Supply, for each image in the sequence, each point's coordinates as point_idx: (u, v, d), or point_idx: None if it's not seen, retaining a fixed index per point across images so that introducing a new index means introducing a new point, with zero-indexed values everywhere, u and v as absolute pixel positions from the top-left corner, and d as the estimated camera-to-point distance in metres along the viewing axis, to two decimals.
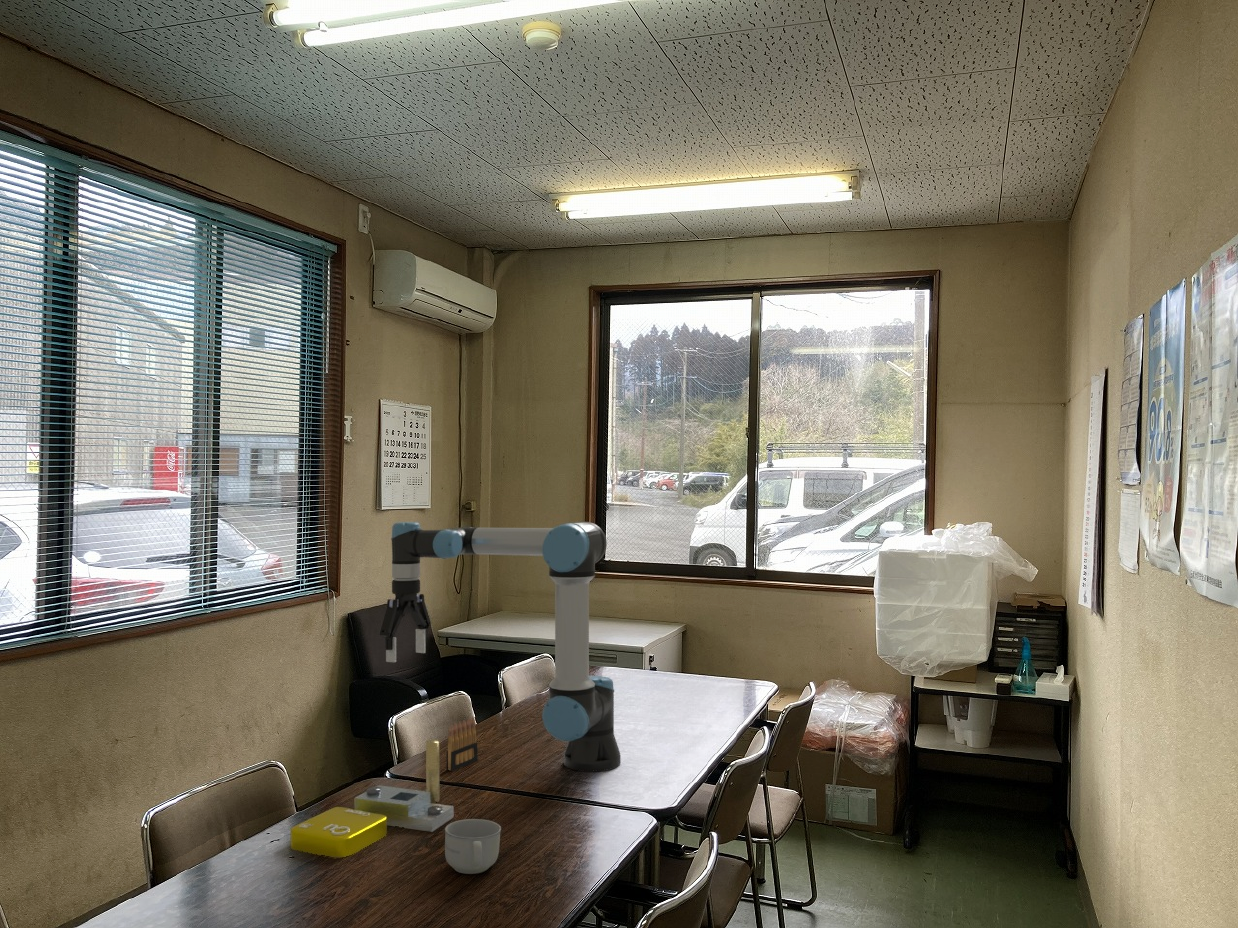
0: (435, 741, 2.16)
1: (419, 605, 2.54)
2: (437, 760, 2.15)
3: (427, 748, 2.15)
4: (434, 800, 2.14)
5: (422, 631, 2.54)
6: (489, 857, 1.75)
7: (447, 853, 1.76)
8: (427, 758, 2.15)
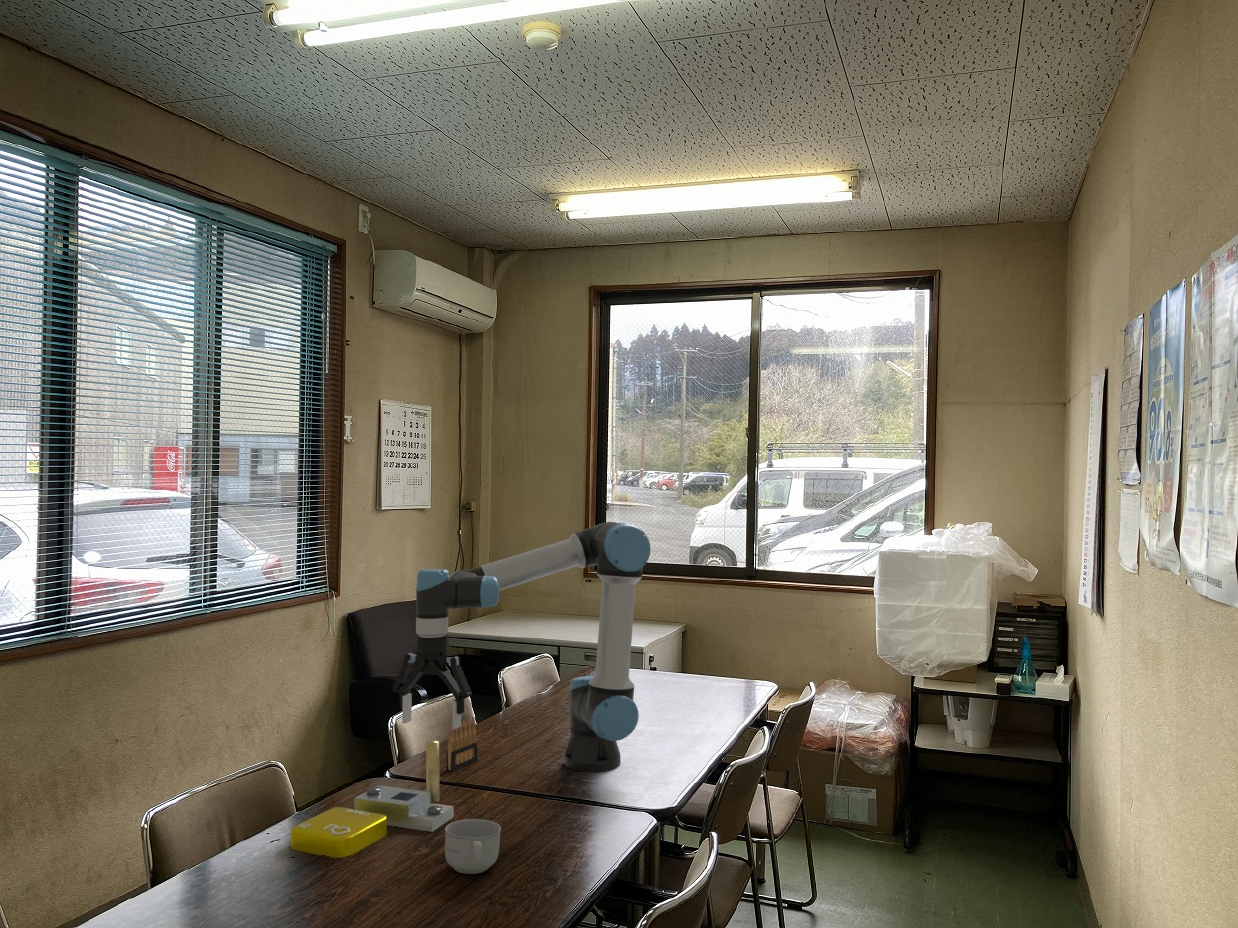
0: (435, 741, 2.16)
1: None
2: (437, 760, 2.15)
3: (427, 748, 2.15)
4: (434, 800, 2.14)
5: None
6: (490, 857, 1.75)
7: (447, 853, 1.76)
8: (427, 758, 2.15)
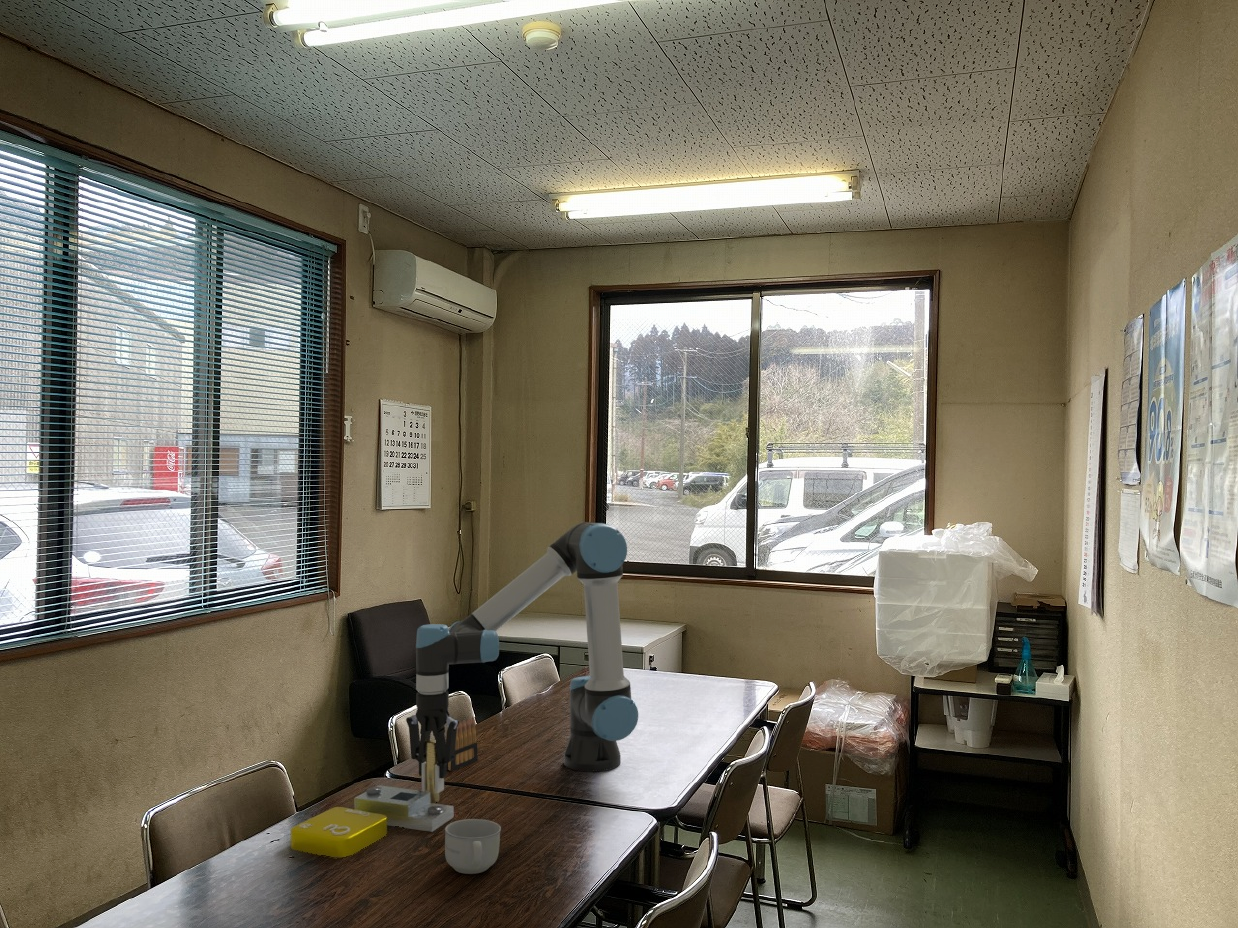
0: None
1: None
2: (437, 760, 2.15)
3: (427, 748, 2.15)
4: (434, 800, 2.14)
5: None
6: (489, 857, 1.75)
7: (447, 853, 1.76)
8: (427, 758, 2.15)
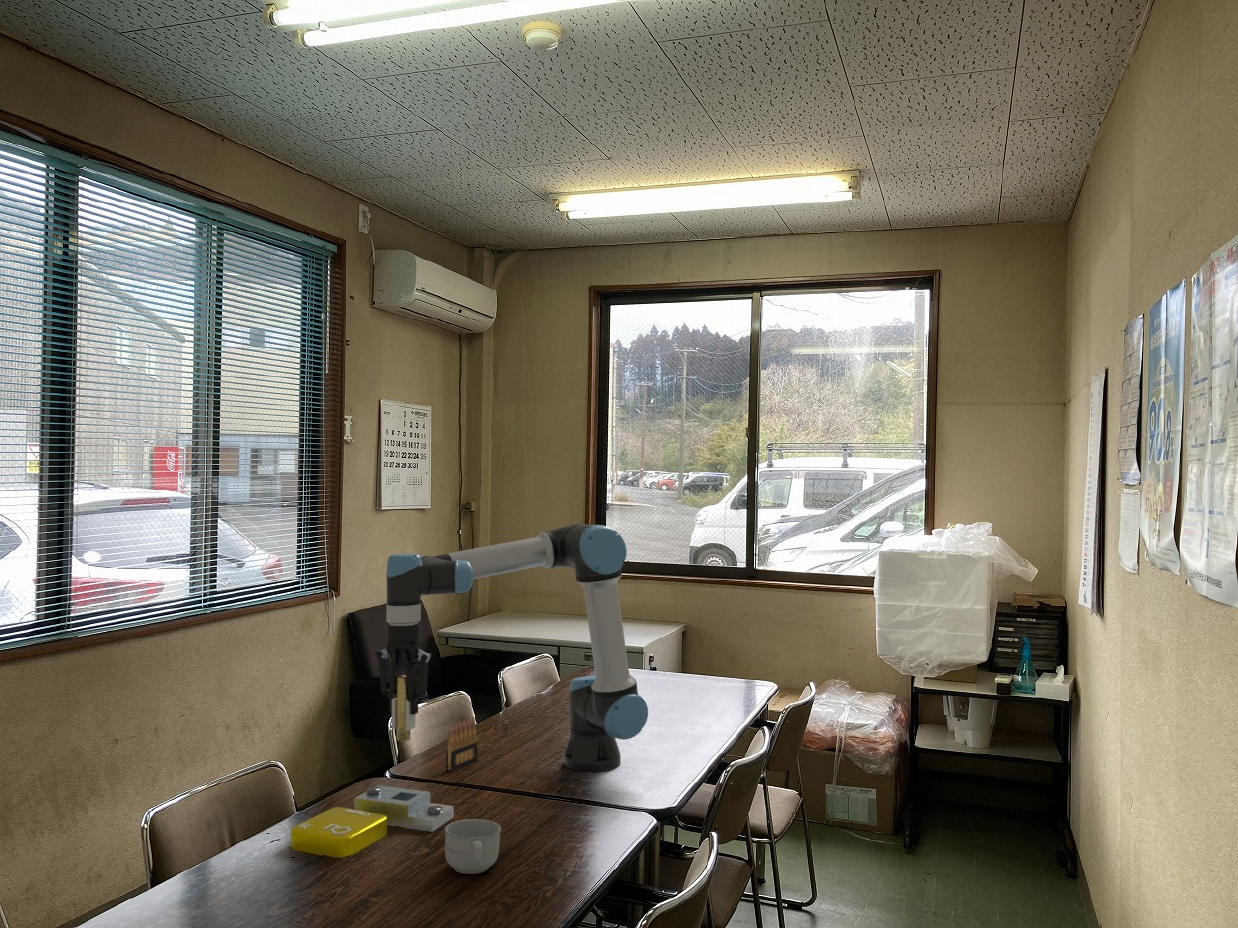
0: None
1: None
2: (408, 696, 2.04)
3: (398, 683, 2.04)
4: (405, 737, 2.03)
5: None
6: (489, 857, 1.75)
7: (447, 853, 1.76)
8: (398, 693, 2.04)
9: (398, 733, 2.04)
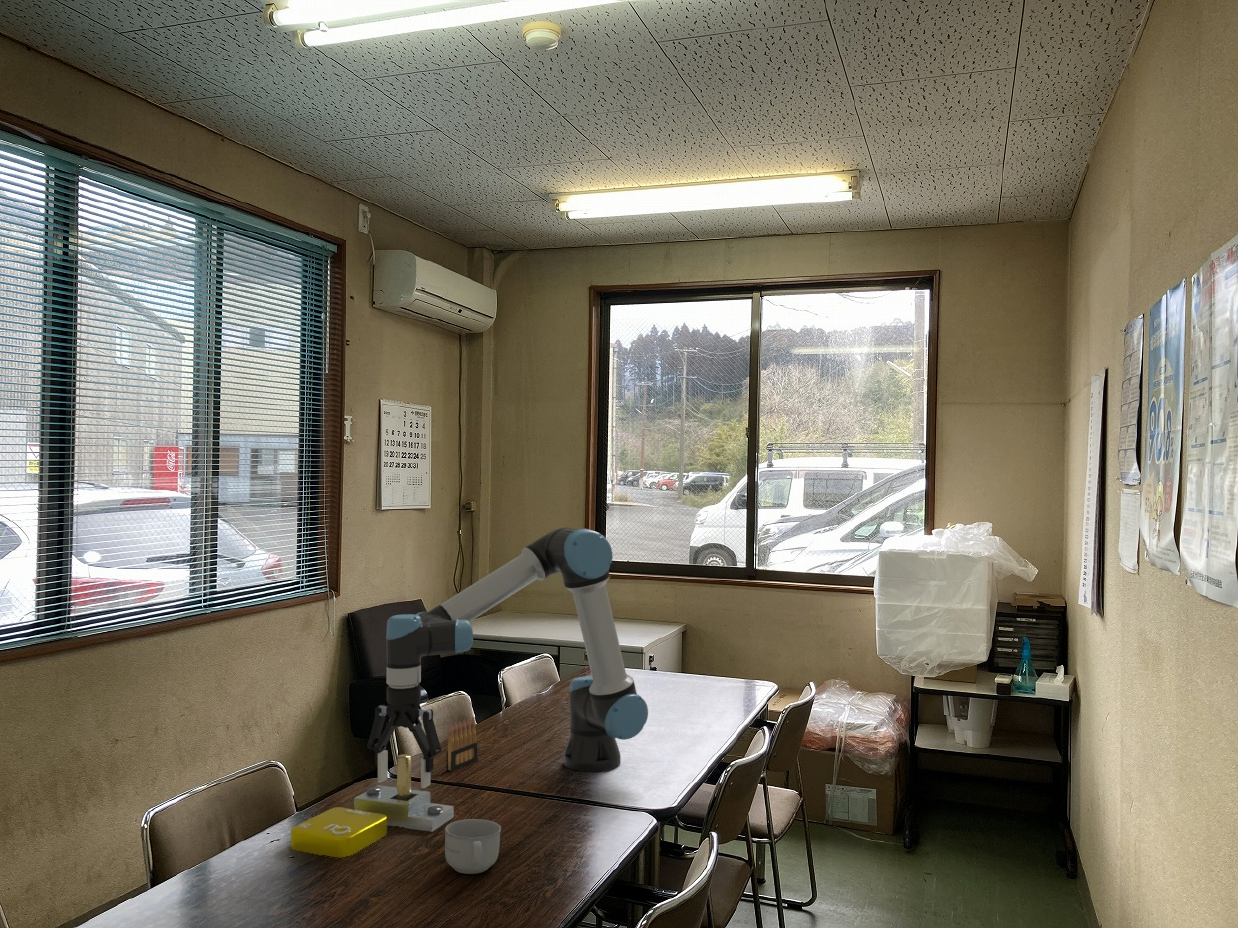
0: (407, 756, 2.05)
1: None
2: (409, 776, 2.04)
3: (398, 763, 2.04)
4: None
5: None
6: (489, 857, 1.75)
7: (447, 853, 1.76)
8: (398, 774, 2.04)
9: None
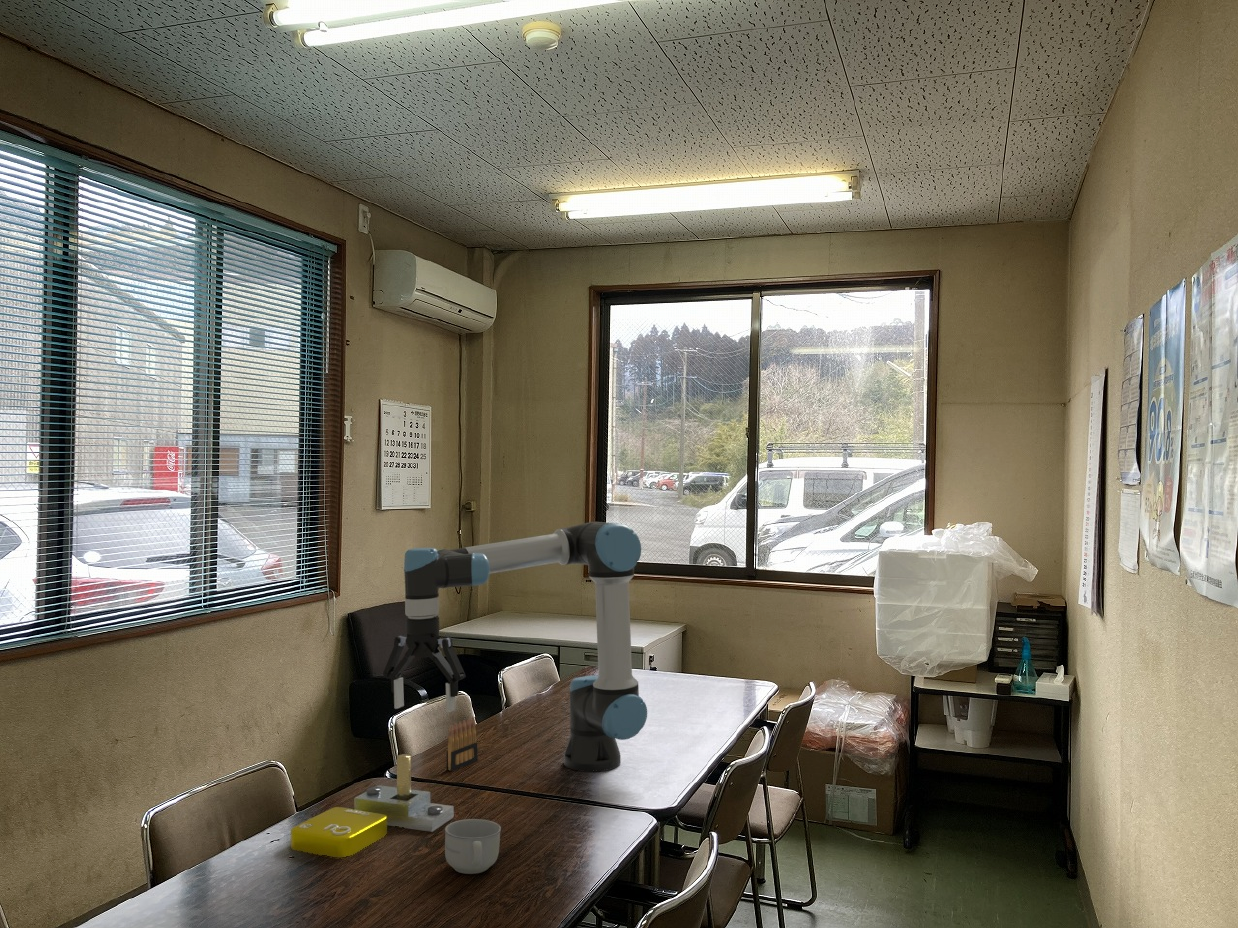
0: (406, 755, 2.05)
1: None
2: (408, 776, 2.04)
3: (398, 763, 2.04)
4: None
5: None
6: (489, 857, 1.75)
7: (447, 853, 1.76)
8: (398, 774, 2.04)
9: None
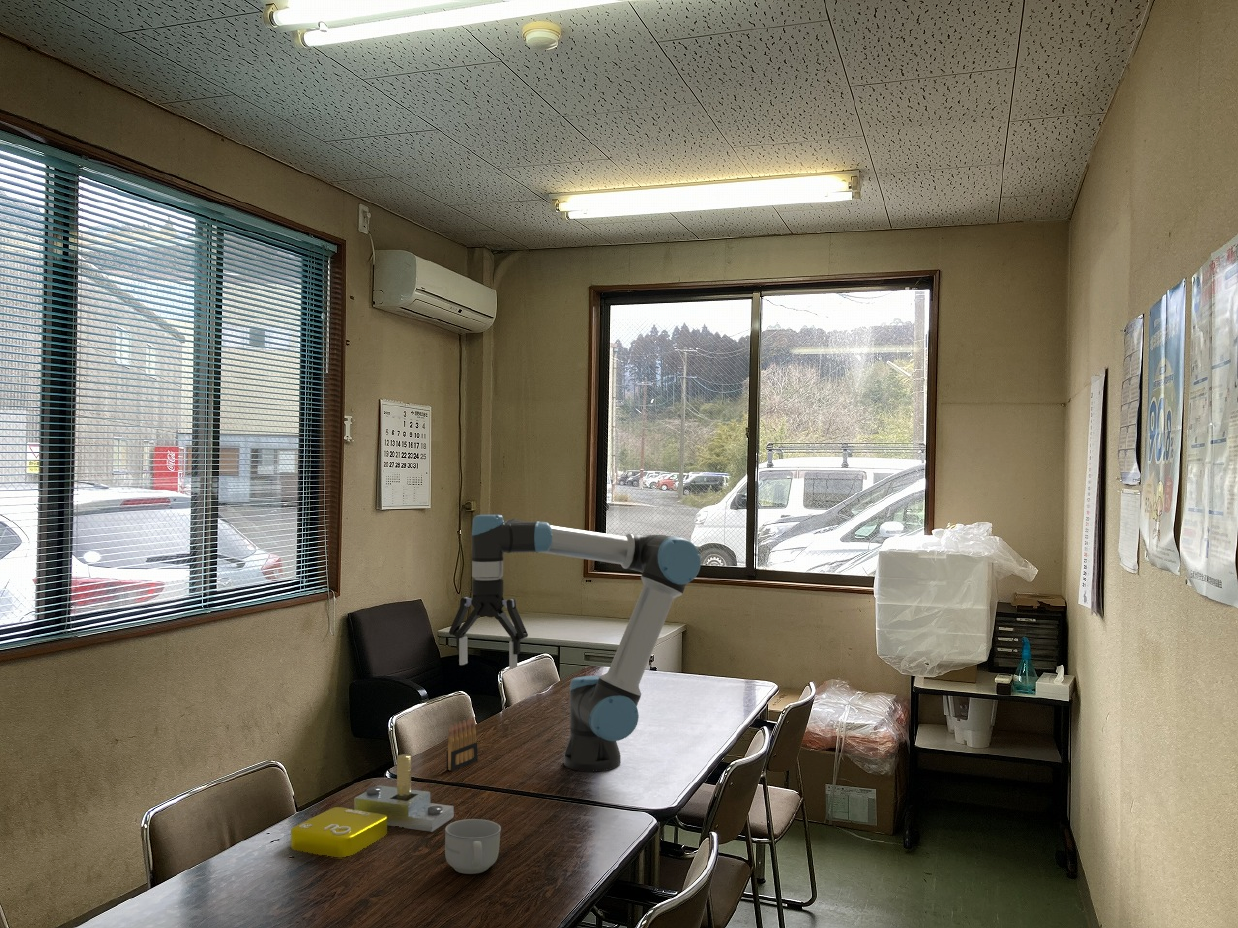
0: (407, 756, 2.05)
1: None
2: (409, 776, 2.04)
3: (398, 763, 2.04)
4: None
5: None
6: (489, 857, 1.75)
7: (447, 853, 1.76)
8: (398, 774, 2.03)
9: None
